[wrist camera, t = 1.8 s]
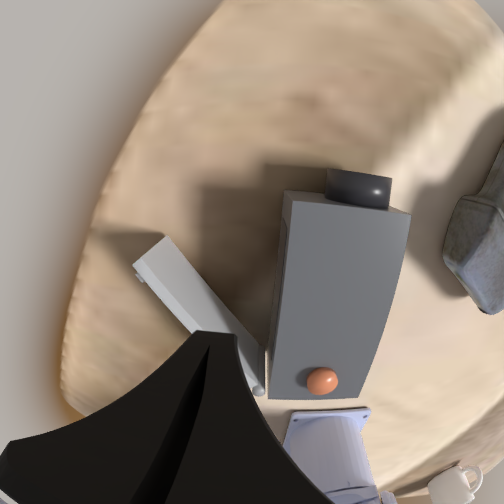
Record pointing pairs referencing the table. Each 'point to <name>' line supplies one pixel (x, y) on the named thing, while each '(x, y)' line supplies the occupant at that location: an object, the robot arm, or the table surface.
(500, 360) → the table surface
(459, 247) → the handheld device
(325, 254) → the camera body
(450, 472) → the mug
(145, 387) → the robot arm
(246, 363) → the side door
